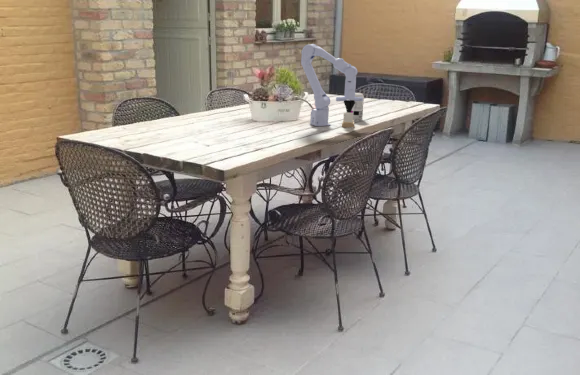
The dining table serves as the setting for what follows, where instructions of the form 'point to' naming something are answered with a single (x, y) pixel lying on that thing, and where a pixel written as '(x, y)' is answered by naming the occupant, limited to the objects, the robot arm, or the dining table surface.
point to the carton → (348, 125)
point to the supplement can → (358, 108)
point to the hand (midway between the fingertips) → (348, 114)
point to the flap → (348, 118)
